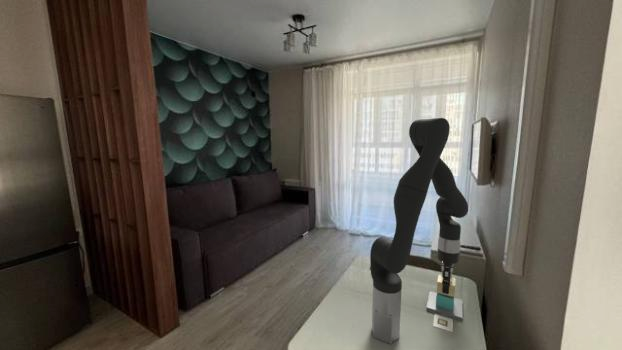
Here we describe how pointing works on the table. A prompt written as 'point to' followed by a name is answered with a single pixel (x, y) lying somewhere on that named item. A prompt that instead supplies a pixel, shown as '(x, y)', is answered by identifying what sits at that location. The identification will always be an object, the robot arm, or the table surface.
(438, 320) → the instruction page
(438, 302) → the teal brick
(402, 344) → the table surface
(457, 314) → the plate
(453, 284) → the yellow knobbed block
